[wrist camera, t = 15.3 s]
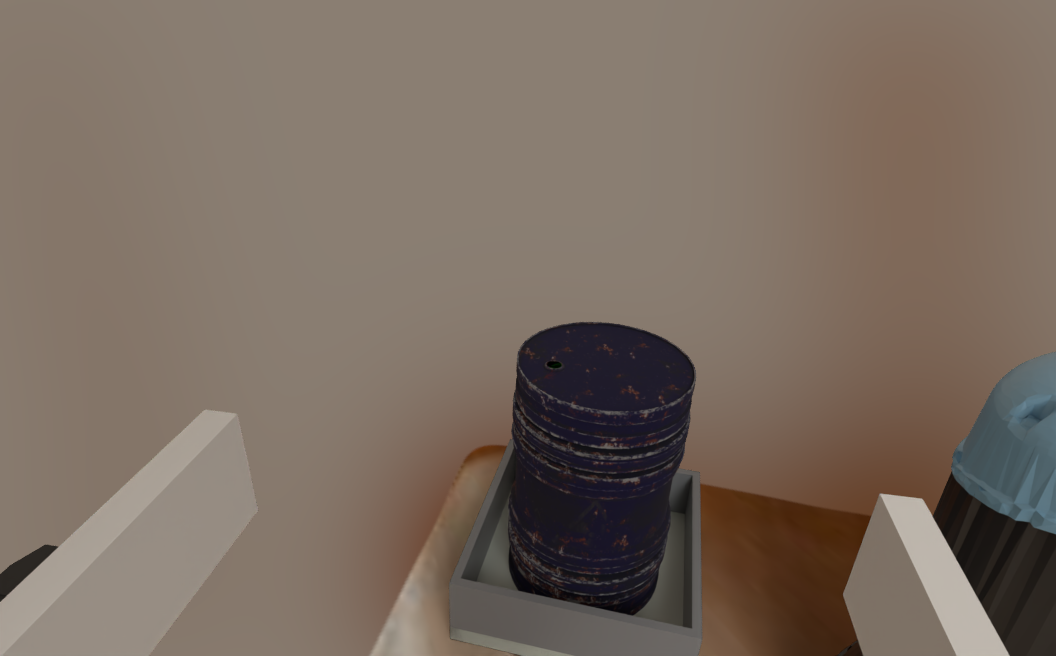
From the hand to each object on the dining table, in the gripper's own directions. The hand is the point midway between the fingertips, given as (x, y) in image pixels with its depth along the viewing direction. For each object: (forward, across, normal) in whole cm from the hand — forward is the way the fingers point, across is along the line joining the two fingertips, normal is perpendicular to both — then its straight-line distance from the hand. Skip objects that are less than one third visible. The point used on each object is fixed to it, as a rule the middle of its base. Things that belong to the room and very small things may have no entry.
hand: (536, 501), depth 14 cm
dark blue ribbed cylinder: (+20, +1, -23) cm, 31 cm away
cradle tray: (+20, +1, -24) cm, 32 cm away
